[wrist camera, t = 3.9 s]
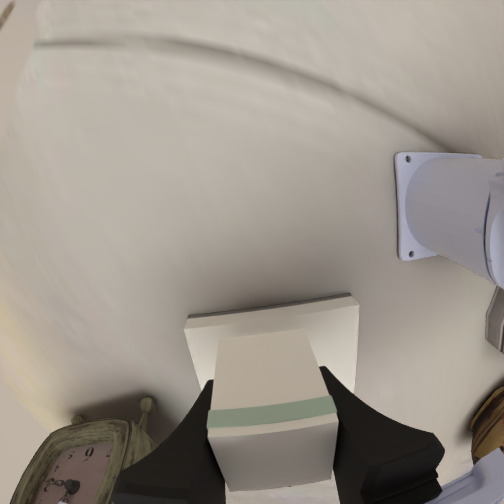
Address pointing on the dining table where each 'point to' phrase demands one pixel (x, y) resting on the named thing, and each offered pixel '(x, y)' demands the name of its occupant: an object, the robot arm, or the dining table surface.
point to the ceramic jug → (488, 426)
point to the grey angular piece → (496, 320)
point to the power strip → (283, 319)
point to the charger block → (271, 413)
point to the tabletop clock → (85, 460)
